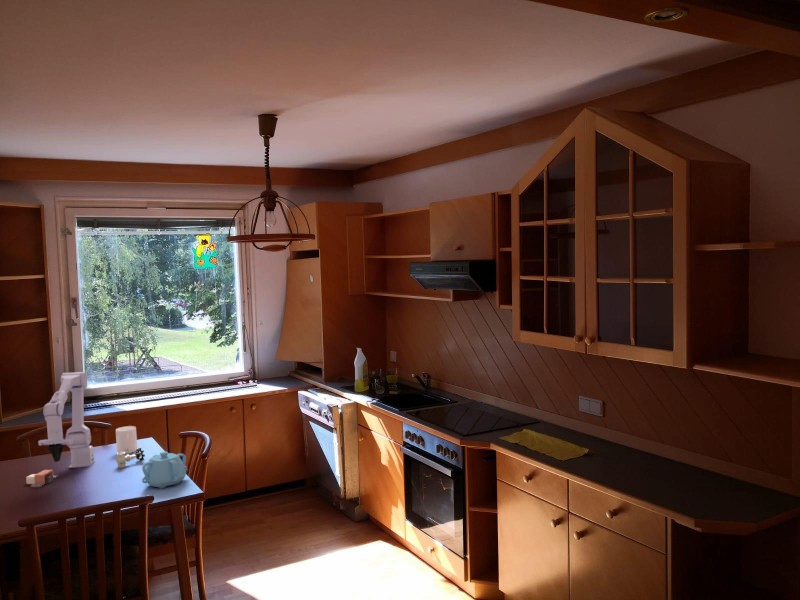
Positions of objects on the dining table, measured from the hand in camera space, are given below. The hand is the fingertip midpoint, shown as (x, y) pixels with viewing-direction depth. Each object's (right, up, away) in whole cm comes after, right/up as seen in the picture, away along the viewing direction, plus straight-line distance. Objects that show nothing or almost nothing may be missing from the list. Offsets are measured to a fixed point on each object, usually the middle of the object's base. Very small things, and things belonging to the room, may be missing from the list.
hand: (57, 461), depth 288 cm
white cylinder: (+13, -6, +43) cm, 46 cm away
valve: (+22, -7, +22) cm, 32 cm away
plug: (-8, -9, +1) cm, 12 cm away
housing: (-6, -9, +1) cm, 11 cm away
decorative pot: (+50, -8, -7) cm, 51 cm away
